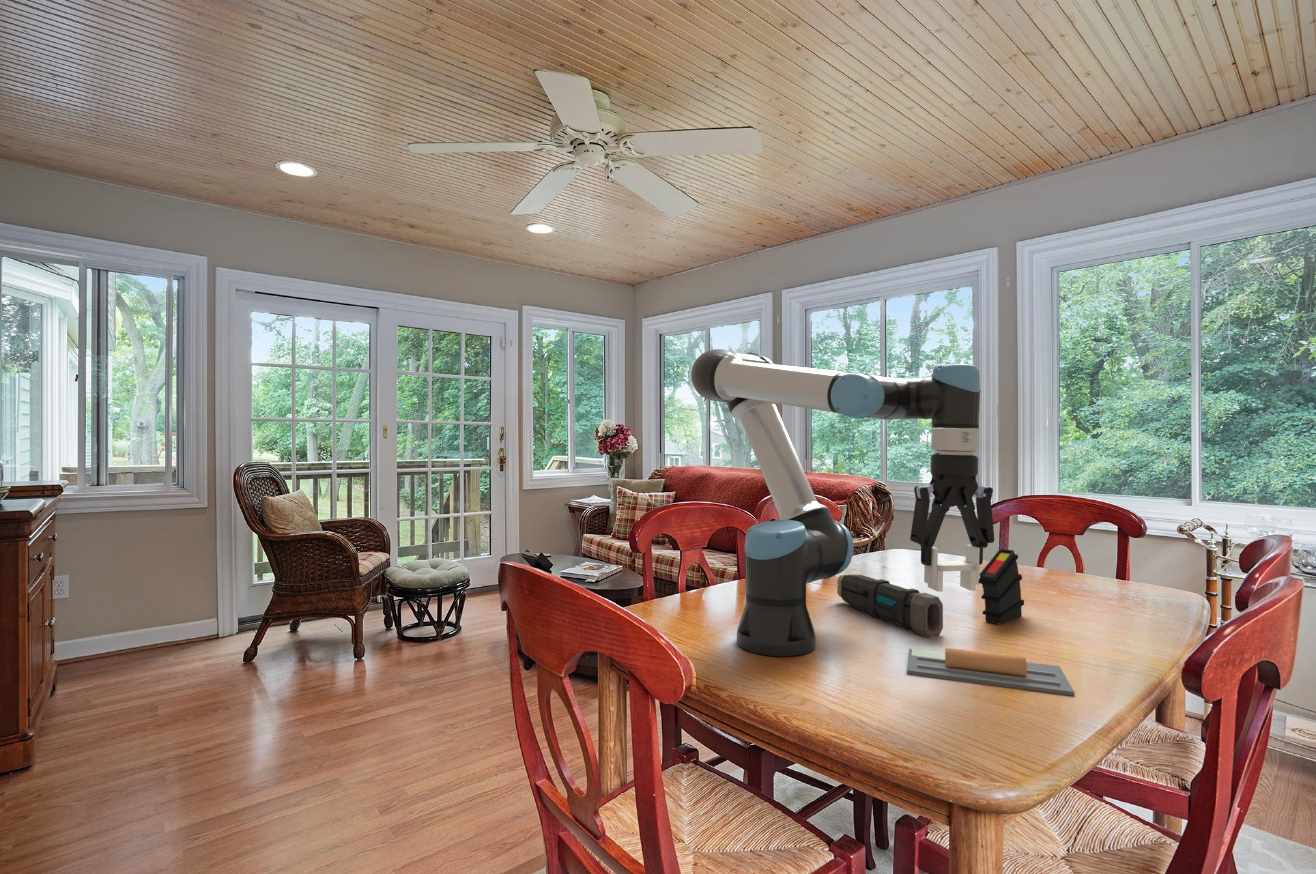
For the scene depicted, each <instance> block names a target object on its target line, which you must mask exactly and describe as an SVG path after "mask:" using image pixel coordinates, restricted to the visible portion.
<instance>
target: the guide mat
mask: <svg viewBox="0 0 1316 874" xmlns="http://www.w3.org/2000/svg"><path fill="white" fill-rule="evenodd" d="M1026 662H1027V677H1020V676H1012V675H1004V674H996V673H988V672H980V671H972V670H964V669H956V668H948V667H946V666H945V652H942V651H933V650H925V649H916V648H908V659H907V670H906V672H907V675H914V676H922V677H928V678H937V679H943V680H949V681H950V680H951V681H959V682H960V681H961V682H967V683H974V684H981V685H990V686H998V687H1005V688H1012V689H1021V690H1028V691H1033V692H1042V693H1050V694H1057V695H1065V696H1066V695H1067V696H1073V697H1074V696H1075V691H1074V689H1073V687H1072V685H1071V684H1070V681H1069V680H1068V678H1067V677H1066V675H1065V673H1064V672H1063V670H1062V668H1061V666H1060V665H1055V664H1054V665H1053V664H1046V663H1045V664H1043V663H1037V662H1029V661H1026Z"/></svg>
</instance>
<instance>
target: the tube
mask: <svg viewBox="0 0 1316 874" xmlns="http://www.w3.org/2000/svg"><path fill="white" fill-rule="evenodd" d="M836 584H837V590H836V591H837V595H838V596H839V597H840V598H841V600H842V601H843V602H845V603H847V605H849V606H850V607H853V608H855V609H857V610H859V611H863V612H865V613H868V614H870V615H871V617H873V618H876V619H884V620H886V621H888V622H890V623H894V624H896V625H898V626H900V627H901V628H902V629H903V630H907V631H909V630H912V631H914V632H913V633H915V634H918V635H920V636H924V637H926V638H928V639H929V638H935V637H936V638H937V637H939V636H940V635H941V633H942V630H943V629H944V616H943V615H944V605H943V602H942V601H941V599H940V598H939V596H936V595H933V594H930V593H928V592H920V590H918V589H915V588H905V587H901V586H900V585H899V586H898V585H895V584H892V583H891V582H890V581H888V580H885V579H875V578H872V577H870V576H866V575H863V574H840V575H839V576H838V578H837V583H836Z"/></svg>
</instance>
